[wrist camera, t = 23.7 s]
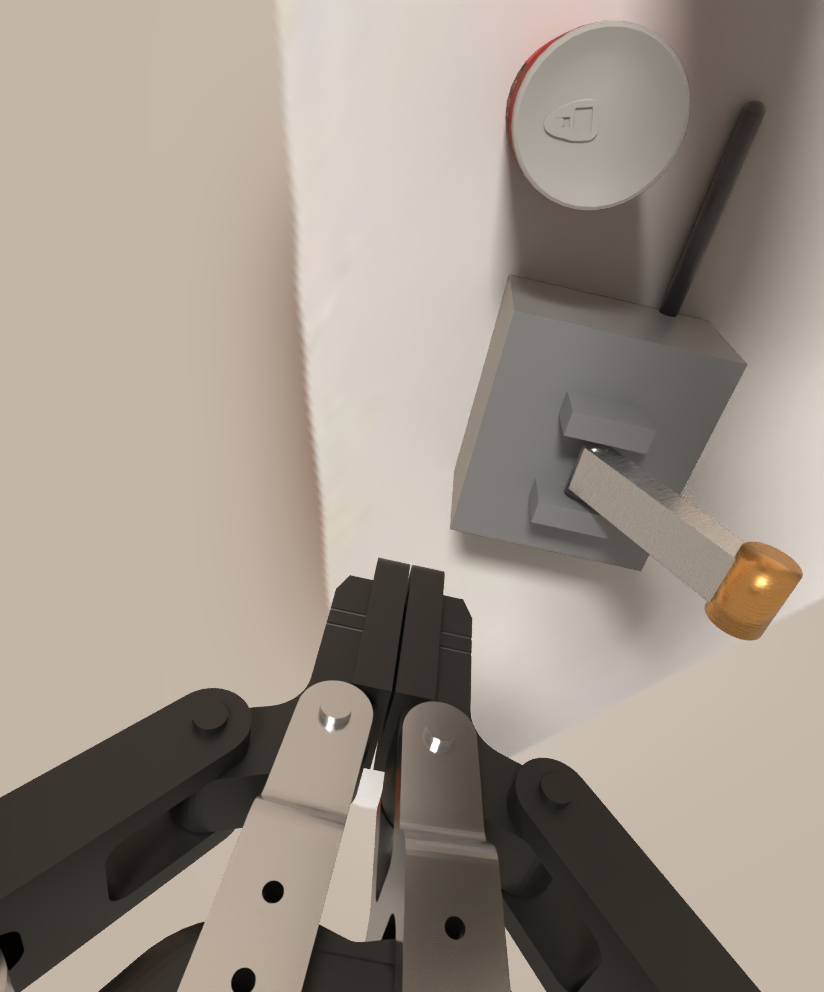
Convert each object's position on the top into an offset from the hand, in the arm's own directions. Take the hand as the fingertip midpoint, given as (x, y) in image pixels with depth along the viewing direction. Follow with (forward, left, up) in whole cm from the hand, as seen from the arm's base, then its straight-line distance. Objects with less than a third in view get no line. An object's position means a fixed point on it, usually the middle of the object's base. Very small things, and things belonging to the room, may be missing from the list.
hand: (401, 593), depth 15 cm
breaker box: (+3, +11, -35) cm, 37 cm away
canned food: (-9, +5, -35) cm, 37 cm away
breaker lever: (+9, +11, -26) cm, 29 cm away
